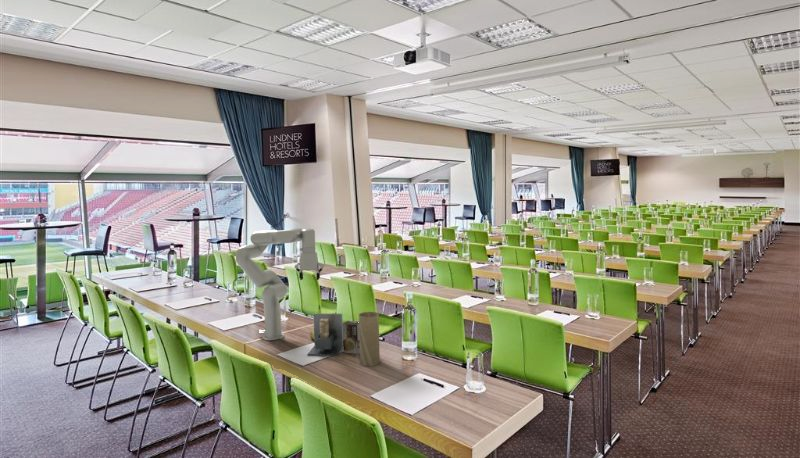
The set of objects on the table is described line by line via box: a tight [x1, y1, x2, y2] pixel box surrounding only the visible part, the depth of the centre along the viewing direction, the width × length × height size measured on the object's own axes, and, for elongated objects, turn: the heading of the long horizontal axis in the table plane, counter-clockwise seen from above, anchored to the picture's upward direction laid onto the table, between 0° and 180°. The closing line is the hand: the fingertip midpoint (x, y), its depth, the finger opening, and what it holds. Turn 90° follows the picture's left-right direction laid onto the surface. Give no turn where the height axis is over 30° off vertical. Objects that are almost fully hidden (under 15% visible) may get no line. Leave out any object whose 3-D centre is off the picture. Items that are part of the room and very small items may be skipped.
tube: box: [358, 311, 381, 367], centre depth 243 cm, size 10×10×25 cm
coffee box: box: [342, 320, 360, 355], centre depth 260 cm, size 9×6×16 cm
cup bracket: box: [306, 312, 344, 357], centre depth 261 cm, size 16×16×19 cm
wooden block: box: [319, 319, 329, 338], centre depth 259 cm, size 4×4×14 cm
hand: (309, 279), depth 277 cm, fingers open, 9 cm apart
